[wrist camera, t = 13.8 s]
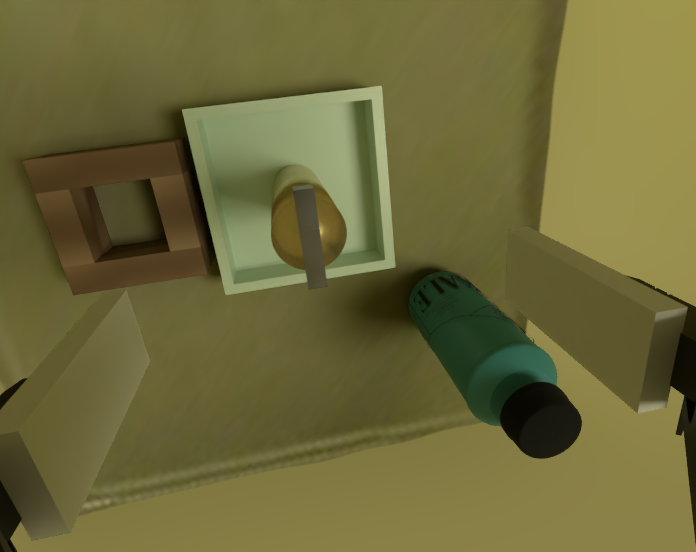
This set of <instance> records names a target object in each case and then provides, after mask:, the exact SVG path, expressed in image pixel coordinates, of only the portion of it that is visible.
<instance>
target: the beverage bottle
mask: <svg viewBox="0 0 696 552" xmlns="http://www.w3.org/2000/svg"><path fill="white" fill-rule="evenodd" d="M466 280H467V279H466ZM466 280H465V278H462V277H461V275H460V276H459V275H458V274H455V272H454V273H451V272H448V271H445V272H436V273H432V274H430V275H427V276H426V277H424V278H423V279H421V280H420V281H419V282H418V283H417V284H416V285H415V287H414V288H413V290H412V292H411V294H410V298H409V302H408V304H409V313H408V314H410V316H411V317H410V318H411V319H412V320H413V323H415V325H416V327H417V328H418V329H419V331H420V333H421V334H422V335H423V337H424V339H425V340H426V341H427V343H428V344H429V346H430V347H431V349H432V350H433V351H434V353H435V354H436V356H437V357H438V359H439V360H440V362H441V363H442V365H443V366H444V368H445V370H446V371H447V373H448V374H449V376H450V377H451V379H452V380H453V382H454V384H455V385H456V387H457V388H458V390H459V391H460V393H461V394H462V396H463V398H464V399H465V401H466V402H467V405H468V407H469V409H470V410H471V412H472V413H473V414H474V415H475V416H476V417H477V418H478V419H479V420H481V421H483V422H485V423H487V424H490V425H494V426H502V428H503V430H504V431H505V433H506V434H507V435H508V437H509V438H510V439H511V440H513V441H514V443H515V444H516V445H517V446H518V447H519V448H520V450H521V451H522V452H524V453H525V454H526V455H528V456H530V457H533V458H540V459H542V458H550V457H553V456H556V455H558V454H560V453H562V452H564V451H565V450H566V449H568V448H569V447H570V446H571V445H572V444H573V443H574V442H575V440H576V439H577V437H578V436H579V433H580V431H581V426H582V420H581V416H580V414H579V412H578V410H577V409H576V408H575V407H574V405H573V404H572V403H571V402H570V401H569V399H568V398H567V396H566V395H565V394H564V392H563V391H562V390H561V389H560V388H558V387H557V386H556V383H557V370H556V367H555V364H554V362H553V360H552V358H551V357H550V356H549V355H548V354H547V353H546V352H545V351H544V350H542V349H541V348H540V347H538V346H537V345H536V344H534V342H532V340H530V338H529V337H528V336H527V335H526V333H525V332H524V330H523V329H521V330H522V331H523V332H524V333H523V332H522V331H521V330H520V329H519V328H521V327H520V326H519V325H518V324H517V325H518V326H519V328H518V327H517V326H515V324H516V323H515V322H514V321H513V320H511V318H509V317H508V318H509V319H510V320H509V319H508V318H507V317H506V315H507V314H506V315H505V316H504V312H503V311H502V310H501V311H502V312H503V314H502V313H501V311H500V310H498V307H495V305H492V304H491V303H490V301H488V300H487V299H486V298H485V297H483V295H484V294H482V295H481V294H480V293H481V292H480V291H479V289H477V288H476V287H475V286H474V285H472V284H471V283H470V282H469V281H468V280H467V281H468V282H469V283H468V282H467V281H466ZM471 285H472V286H473V287H472V286H471ZM474 287H475V288H476V289H475V288H474ZM478 291H479V292H480V293H479V292H478ZM484 296H485V295H484ZM487 298H488V297H487ZM492 303H493V302H492ZM511 321H512V322H513V323H515V324H513V323H512V322H511ZM417 328H416V329H417ZM428 348H429V347H428Z"/></svg>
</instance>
